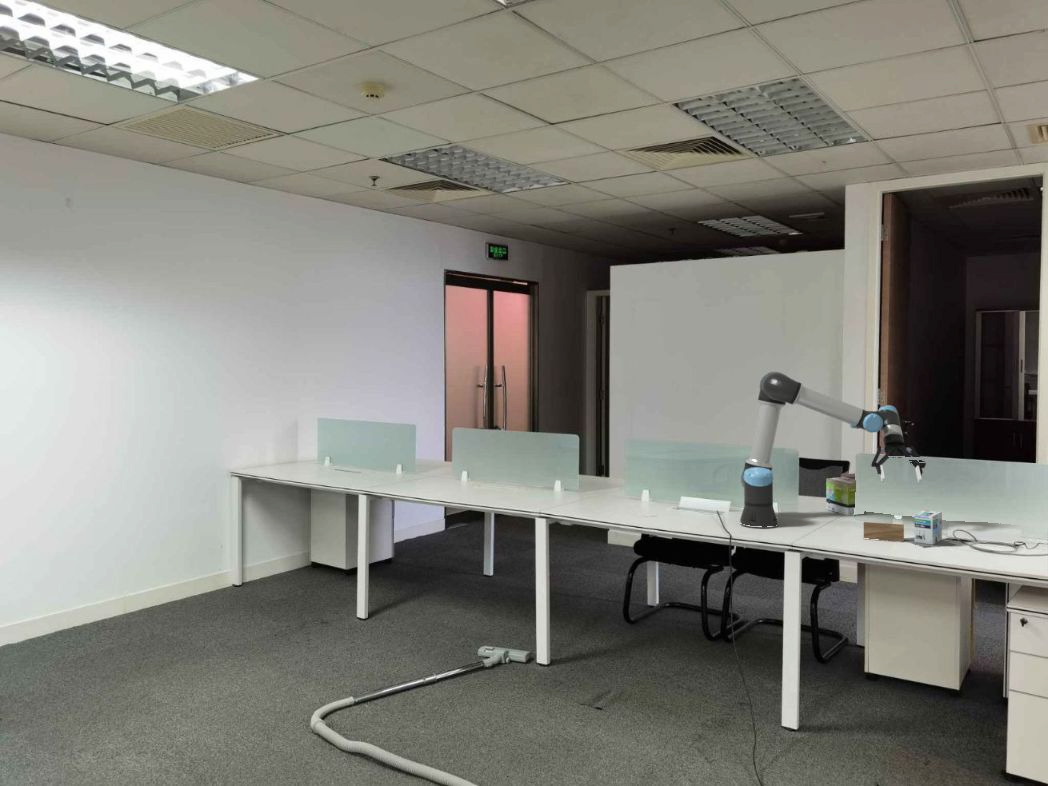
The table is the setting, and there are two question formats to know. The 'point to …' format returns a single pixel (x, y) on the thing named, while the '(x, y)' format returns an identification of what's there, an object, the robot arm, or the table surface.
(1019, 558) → the table surface
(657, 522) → the table surface
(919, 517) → the light bulb box
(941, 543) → the charcoal mat
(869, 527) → the oak screen
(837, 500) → the tea box
